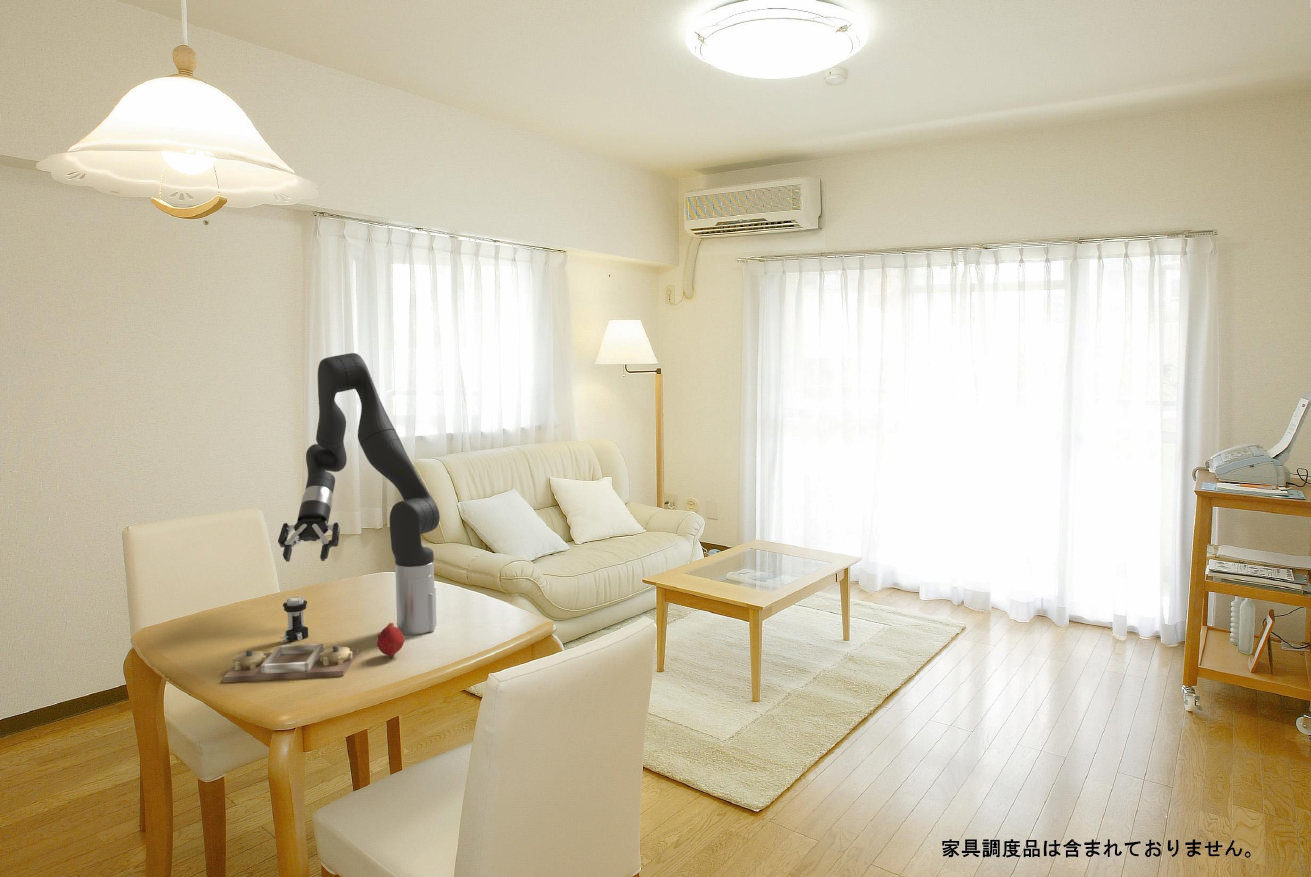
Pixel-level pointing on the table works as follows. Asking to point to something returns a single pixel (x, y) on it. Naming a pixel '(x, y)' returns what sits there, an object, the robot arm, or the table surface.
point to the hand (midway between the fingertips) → (304, 559)
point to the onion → (390, 640)
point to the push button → (295, 619)
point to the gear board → (291, 663)
